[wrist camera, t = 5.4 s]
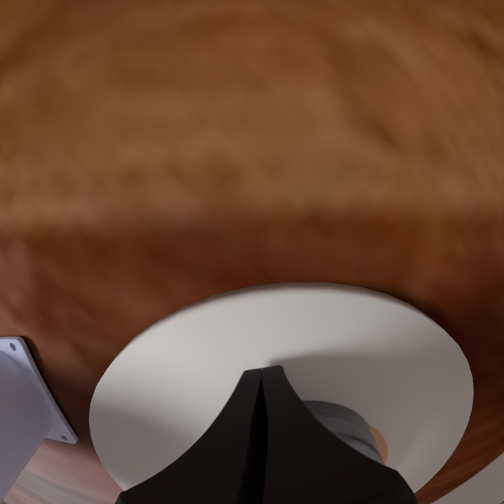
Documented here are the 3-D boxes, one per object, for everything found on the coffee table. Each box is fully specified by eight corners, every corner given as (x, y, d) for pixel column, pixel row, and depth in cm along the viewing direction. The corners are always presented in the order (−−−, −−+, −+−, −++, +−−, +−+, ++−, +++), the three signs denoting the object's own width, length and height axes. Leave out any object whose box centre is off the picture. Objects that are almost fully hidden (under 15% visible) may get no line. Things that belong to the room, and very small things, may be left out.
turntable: (175, 528, 17) (172, 540, 16) (40, 315, 12) (23, 327, 11) (425, 491, 16) (431, 503, 14) (480, 238, 11) (500, 245, 10)
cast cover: (236, 500, 13) (233, 540, 10) (185, 415, 12) (170, 467, 9) (370, 475, 13) (382, 514, 10) (369, 379, 11) (394, 428, 8)
